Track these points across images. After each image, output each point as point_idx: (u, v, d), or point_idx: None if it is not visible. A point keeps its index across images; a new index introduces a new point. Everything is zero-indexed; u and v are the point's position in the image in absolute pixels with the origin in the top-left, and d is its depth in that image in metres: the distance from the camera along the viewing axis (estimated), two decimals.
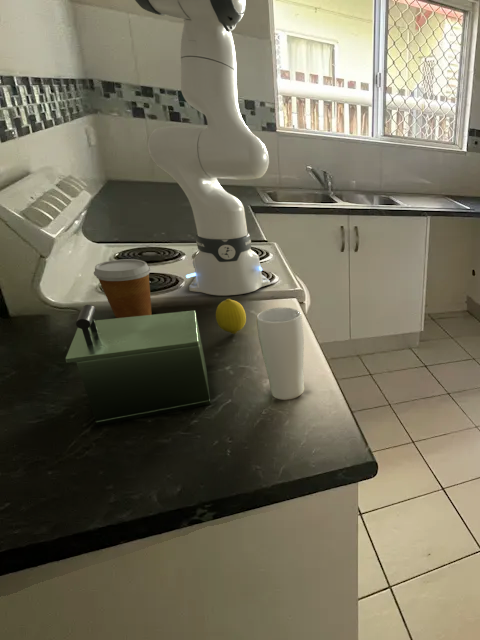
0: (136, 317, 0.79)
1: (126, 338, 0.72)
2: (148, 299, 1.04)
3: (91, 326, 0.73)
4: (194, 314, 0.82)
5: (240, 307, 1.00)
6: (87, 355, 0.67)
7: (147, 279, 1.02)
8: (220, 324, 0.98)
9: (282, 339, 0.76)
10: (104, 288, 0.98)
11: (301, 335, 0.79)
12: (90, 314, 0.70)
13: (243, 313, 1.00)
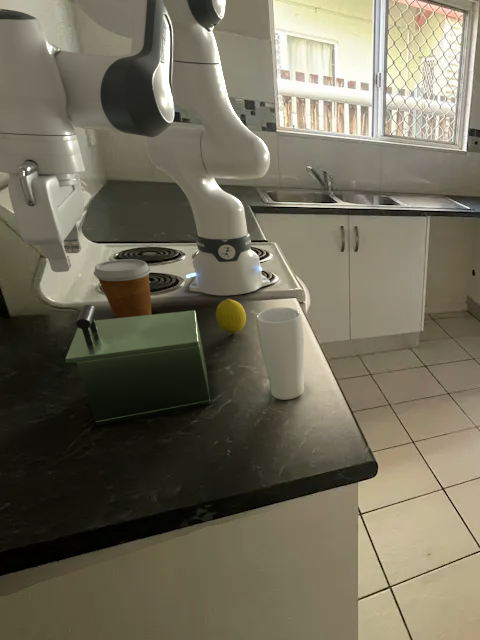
0: (136, 317, 0.79)
1: (126, 338, 0.72)
2: (148, 299, 1.04)
3: (91, 326, 0.73)
4: (194, 314, 0.82)
5: (240, 307, 1.00)
6: (87, 355, 0.67)
7: (147, 279, 1.02)
8: (220, 324, 0.98)
9: (282, 339, 0.76)
10: (104, 288, 0.98)
11: (301, 335, 0.79)
12: (90, 314, 0.70)
13: (243, 313, 1.00)
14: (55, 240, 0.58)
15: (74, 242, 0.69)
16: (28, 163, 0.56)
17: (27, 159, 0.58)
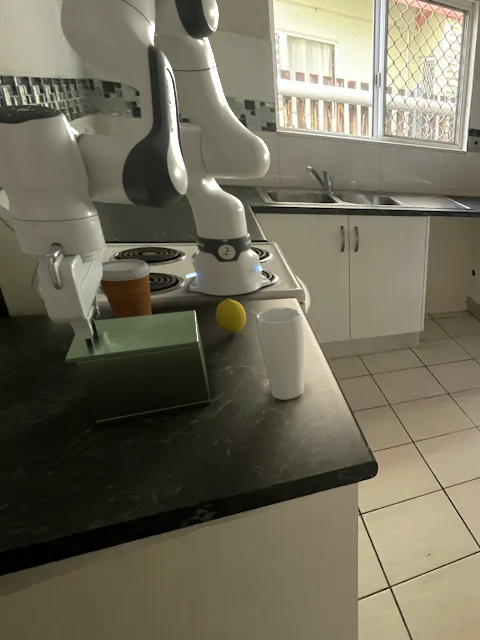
0: (136, 317, 0.79)
1: (126, 339, 0.72)
2: (148, 299, 1.04)
3: None
4: (194, 314, 0.82)
5: (240, 307, 1.00)
6: (87, 355, 0.67)
7: (147, 279, 1.02)
8: (220, 324, 0.98)
9: (282, 339, 0.76)
10: (104, 288, 0.98)
11: (301, 335, 0.79)
12: (90, 314, 0.70)
13: (243, 313, 1.00)
14: (80, 318, 0.62)
15: None
16: (55, 248, 0.61)
17: (53, 243, 0.62)
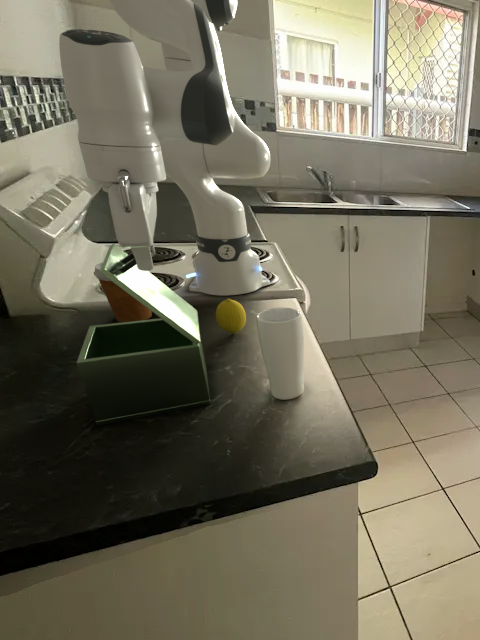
0: (155, 278, 0.78)
1: (148, 291, 0.71)
2: None
3: (128, 257, 0.72)
4: (197, 314, 0.82)
5: (240, 307, 1.00)
6: (120, 280, 0.65)
7: None
8: (220, 324, 0.98)
9: (282, 339, 0.76)
10: (104, 288, 0.98)
11: (301, 335, 0.79)
12: None
13: (243, 313, 1.00)
14: (146, 244, 0.63)
15: (150, 246, 0.73)
16: (124, 173, 0.61)
17: (121, 169, 0.62)
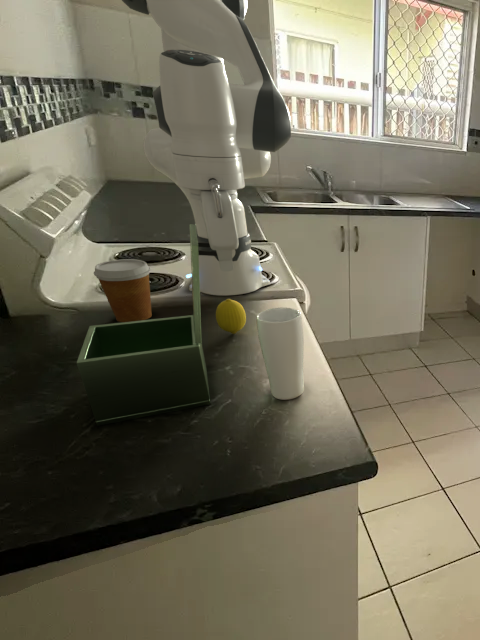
0: None
1: None
2: (148, 299, 1.04)
3: (202, 244, 0.76)
4: None
5: (240, 307, 1.00)
6: (198, 260, 0.69)
7: (147, 279, 1.02)
8: (220, 324, 0.98)
9: (282, 339, 0.76)
10: (104, 288, 0.98)
11: (301, 335, 0.79)
12: None
13: (243, 313, 1.00)
14: (234, 246, 0.68)
15: None
16: (215, 181, 0.67)
17: (211, 178, 0.68)
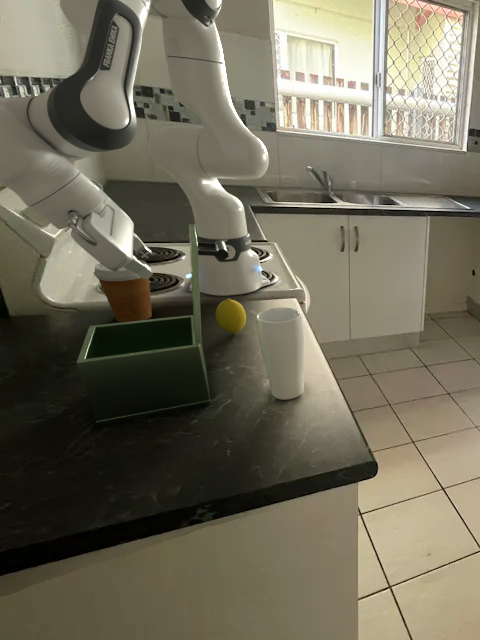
0: None
1: None
2: (148, 299, 1.04)
3: (202, 244, 0.76)
4: None
5: (240, 307, 1.00)
6: None
7: (147, 279, 1.02)
8: (220, 324, 0.98)
9: (282, 339, 0.76)
10: (104, 288, 0.98)
11: (301, 335, 0.79)
12: None
13: (243, 313, 1.00)
14: (127, 260, 0.75)
15: (143, 249, 0.87)
16: (70, 215, 0.72)
17: (68, 211, 0.73)
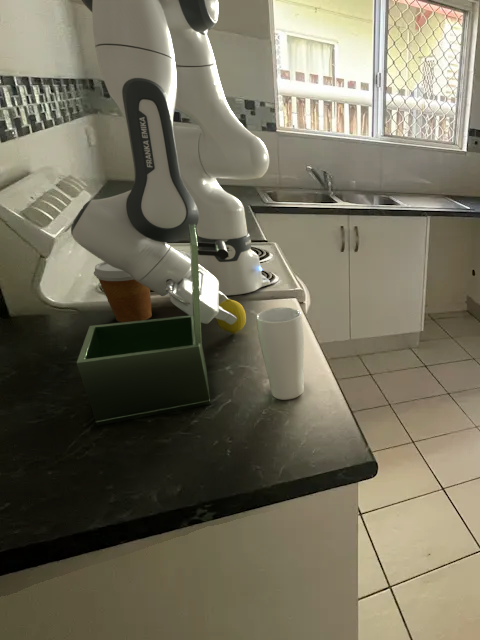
0: None
1: None
2: (148, 299, 1.04)
3: (202, 244, 0.76)
4: None
5: (240, 307, 1.00)
6: None
7: None
8: (220, 324, 0.98)
9: (282, 339, 0.76)
10: (104, 288, 0.98)
11: (301, 335, 0.79)
12: None
13: (243, 313, 1.00)
14: (214, 313, 0.90)
15: None
16: (167, 283, 0.87)
17: (166, 280, 0.88)
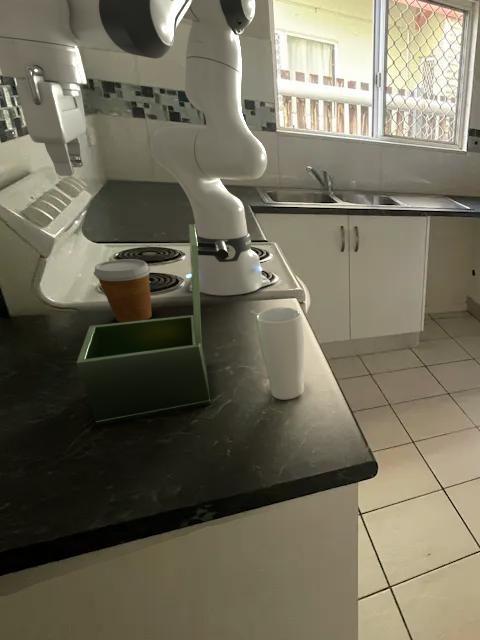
0: None
1: None
2: (148, 299, 1.04)
3: (202, 244, 0.76)
4: None
5: None
6: None
7: (147, 279, 1.02)
8: None
9: (282, 339, 0.76)
10: (104, 288, 0.98)
11: (301, 335, 0.79)
12: None
13: None
14: (59, 139, 0.63)
15: (77, 156, 0.74)
16: (35, 66, 0.61)
17: (34, 64, 0.63)
